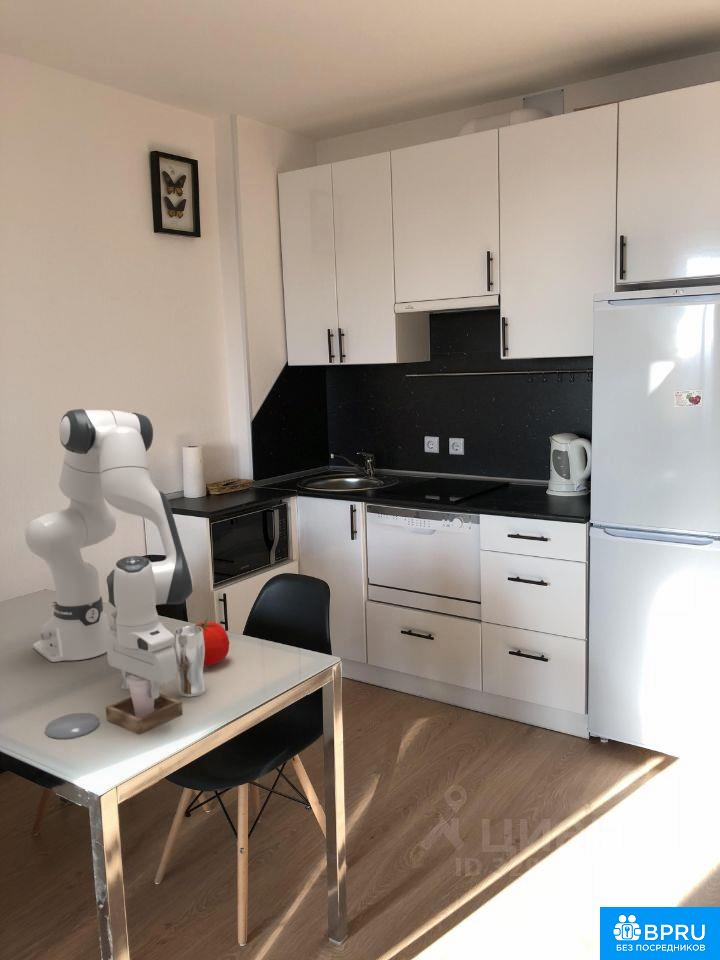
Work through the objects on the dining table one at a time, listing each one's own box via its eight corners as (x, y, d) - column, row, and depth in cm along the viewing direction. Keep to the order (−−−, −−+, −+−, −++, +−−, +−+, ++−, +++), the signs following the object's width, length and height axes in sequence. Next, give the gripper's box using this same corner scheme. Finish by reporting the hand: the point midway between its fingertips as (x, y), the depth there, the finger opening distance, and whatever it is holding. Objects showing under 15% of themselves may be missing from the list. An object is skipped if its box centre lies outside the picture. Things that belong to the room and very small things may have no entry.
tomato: (222, 652, 217) (219, 612, 215) (236, 667, 207) (234, 624, 205) (177, 661, 212) (174, 620, 210) (190, 677, 201) (187, 633, 200)
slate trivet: (35, 729, 176) (35, 727, 176) (81, 711, 184) (80, 708, 184) (63, 744, 169) (63, 741, 169) (109, 724, 178) (109, 721, 177)
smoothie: (136, 710, 184) (131, 651, 181) (163, 711, 183) (159, 651, 181) (125, 723, 178) (120, 662, 175) (153, 724, 177) (149, 662, 175)
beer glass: (175, 688, 195) (170, 628, 193) (204, 683, 197) (200, 623, 195) (179, 700, 189) (175, 637, 186) (210, 694, 191) (206, 632, 189)
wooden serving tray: (106, 720, 180) (105, 707, 179) (150, 701, 188) (149, 689, 188) (139, 734, 172) (137, 721, 172) (182, 714, 181) (181, 701, 181)
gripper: (97, 627, 181) (102, 686, 183) (155, 646, 168) (160, 710, 171) (121, 619, 186) (126, 677, 188) (179, 637, 173) (184, 699, 176)
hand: (142, 693), depth 179 cm, fingers open, 6 cm apart
